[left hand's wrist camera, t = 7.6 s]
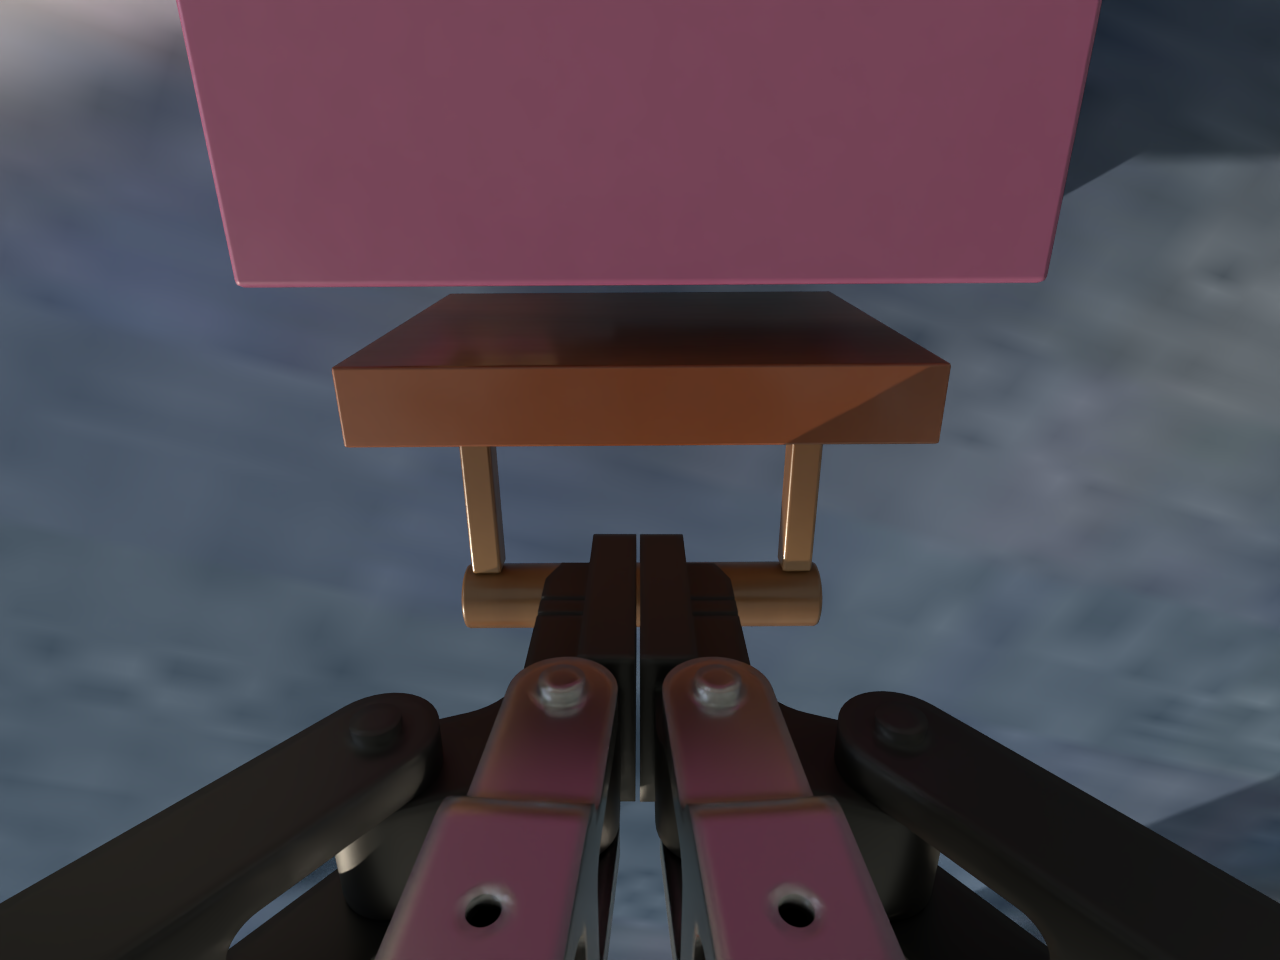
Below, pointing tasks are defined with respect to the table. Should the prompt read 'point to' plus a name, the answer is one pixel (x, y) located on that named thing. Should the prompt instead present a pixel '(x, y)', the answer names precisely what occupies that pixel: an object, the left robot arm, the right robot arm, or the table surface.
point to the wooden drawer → (641, 407)
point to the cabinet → (638, 139)
